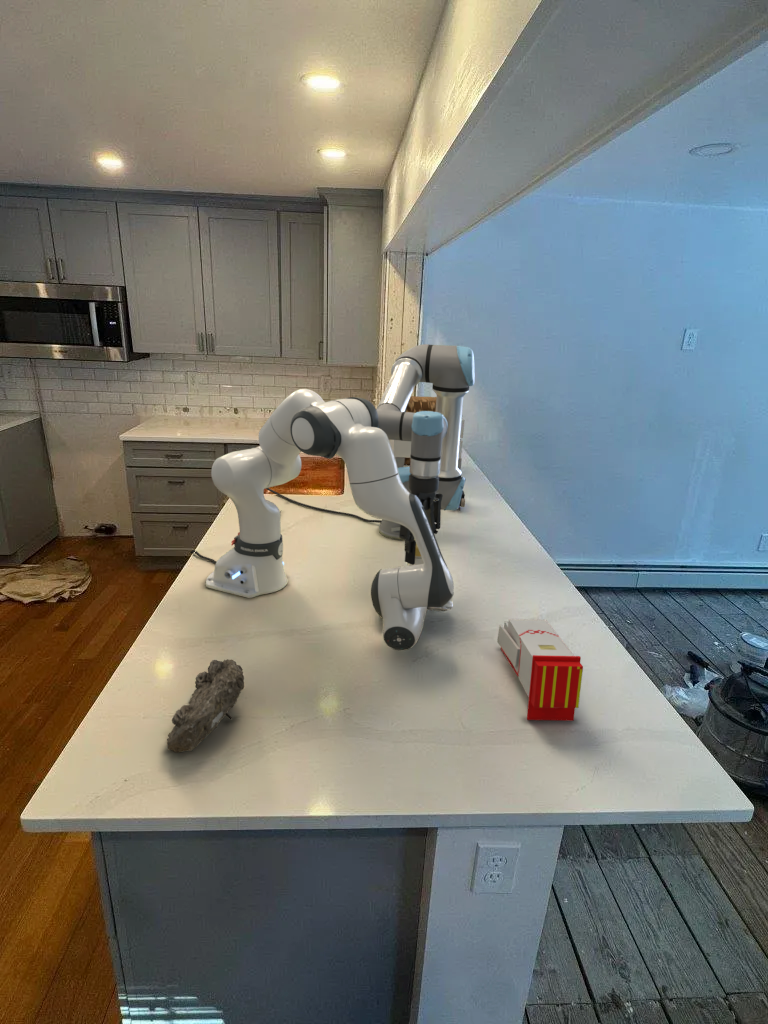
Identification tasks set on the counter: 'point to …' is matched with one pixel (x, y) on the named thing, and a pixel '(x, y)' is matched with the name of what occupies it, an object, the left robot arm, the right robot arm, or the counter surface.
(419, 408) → the white slatted box
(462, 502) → the figurine character
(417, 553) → the lid
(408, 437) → the right robot arm
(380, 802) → the counter surface
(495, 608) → the counter surface
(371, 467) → the left robot arm
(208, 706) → the fossil
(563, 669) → the toy
